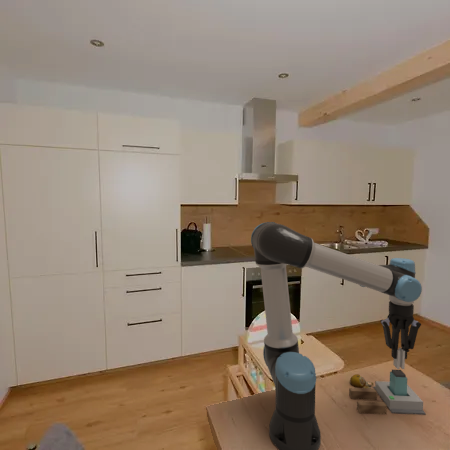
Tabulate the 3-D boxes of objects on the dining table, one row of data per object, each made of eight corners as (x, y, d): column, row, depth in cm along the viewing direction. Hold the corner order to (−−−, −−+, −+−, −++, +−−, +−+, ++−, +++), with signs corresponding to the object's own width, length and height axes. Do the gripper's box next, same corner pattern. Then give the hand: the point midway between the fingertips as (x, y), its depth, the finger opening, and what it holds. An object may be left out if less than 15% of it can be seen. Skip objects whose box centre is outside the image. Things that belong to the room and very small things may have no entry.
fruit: (373, 395, 108) (373, 385, 108) (348, 388, 112) (349, 379, 112) (373, 383, 115) (373, 374, 115) (350, 377, 119) (350, 369, 119)
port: (391, 413, 98) (392, 402, 98) (373, 387, 112) (373, 377, 112) (425, 414, 97) (426, 403, 97) (402, 388, 111) (403, 378, 111)
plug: (394, 402, 103) (395, 375, 102) (389, 395, 107) (390, 368, 106) (406, 402, 103) (407, 375, 102) (400, 395, 107) (401, 369, 106)
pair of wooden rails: (359, 413, 98) (359, 404, 98) (349, 395, 107) (349, 387, 107) (386, 414, 98) (386, 405, 97) (374, 396, 107) (374, 388, 107)
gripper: (385, 305, 99) (383, 372, 101) (428, 306, 98) (425, 373, 100) (375, 298, 107) (374, 360, 108) (415, 299, 106) (413, 362, 107)
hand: (398, 366), depth 104 cm, fingers closed
